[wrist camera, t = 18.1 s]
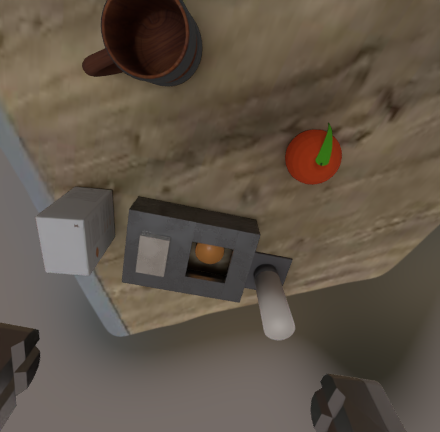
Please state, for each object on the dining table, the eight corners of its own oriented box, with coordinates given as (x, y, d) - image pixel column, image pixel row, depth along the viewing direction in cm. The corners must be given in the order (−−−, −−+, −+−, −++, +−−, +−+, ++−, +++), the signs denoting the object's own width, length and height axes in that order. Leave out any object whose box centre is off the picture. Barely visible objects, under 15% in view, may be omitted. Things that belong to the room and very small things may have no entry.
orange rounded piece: (226, 237, 46) (226, 242, 45) (220, 260, 48) (220, 266, 46) (198, 232, 46) (198, 236, 44) (193, 256, 47) (193, 261, 46)
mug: (93, 36, 35) (39, 16, 25) (184, -10, 34) (168, -53, 23) (129, 107, 39) (94, 116, 28) (213, 69, 37) (211, 63, 26)
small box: (74, 185, 43) (33, 214, 33) (113, 189, 43) (83, 219, 34) (80, 234, 46) (43, 273, 37) (116, 237, 46) (89, 277, 37)
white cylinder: (280, 266, 48) (299, 319, 37) (273, 285, 50) (289, 342, 39) (257, 261, 48) (269, 314, 37) (250, 281, 49) (260, 337, 38)
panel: (256, 219, 45) (261, 238, 40) (237, 282, 50) (239, 306, 44) (138, 196, 44) (126, 212, 38) (131, 263, 48) (119, 286, 43)
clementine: (291, 112, 39) (306, 118, 32) (341, 124, 40) (365, 132, 33) (274, 170, 42) (284, 185, 36) (320, 180, 43) (338, 197, 36)
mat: (291, 258, 48) (292, 259, 48) (279, 292, 51) (279, 294, 50) (250, 250, 47) (250, 252, 47) (239, 285, 50) (239, 286, 50)
